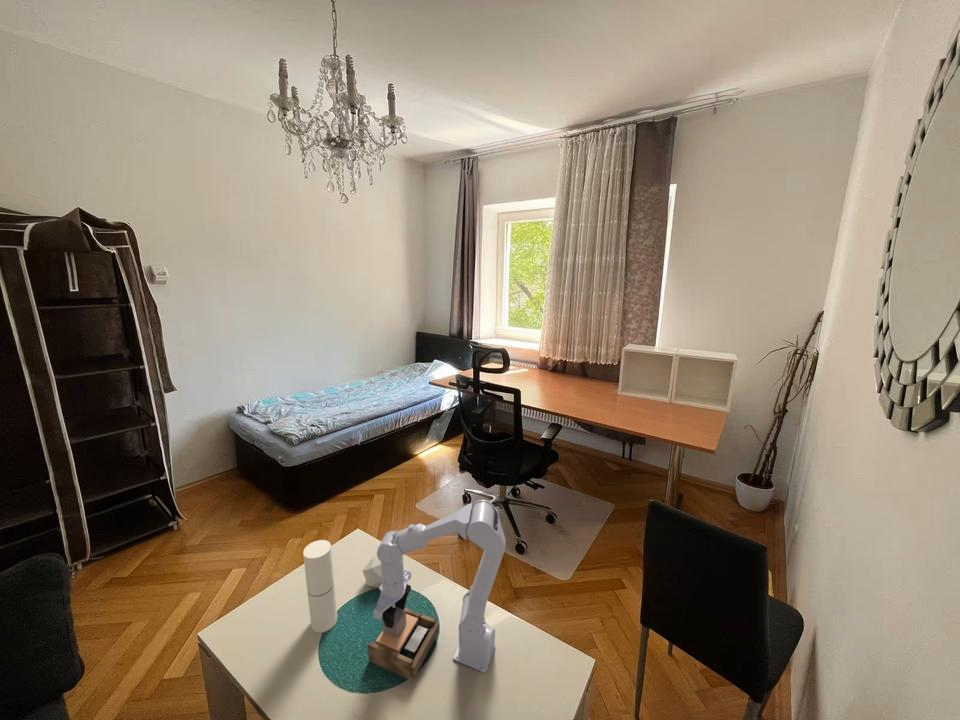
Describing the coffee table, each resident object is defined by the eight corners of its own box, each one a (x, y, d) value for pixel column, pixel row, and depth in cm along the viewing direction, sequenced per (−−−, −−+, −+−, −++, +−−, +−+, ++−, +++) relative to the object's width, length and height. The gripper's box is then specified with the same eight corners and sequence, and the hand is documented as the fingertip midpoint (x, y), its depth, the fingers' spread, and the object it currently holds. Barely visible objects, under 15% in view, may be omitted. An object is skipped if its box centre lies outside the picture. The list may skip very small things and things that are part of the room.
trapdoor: (430, 630, 105) (430, 623, 104) (411, 664, 96) (411, 656, 95) (397, 617, 109) (397, 610, 108) (376, 648, 100) (375, 640, 99)
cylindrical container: (305, 629, 108) (297, 555, 102) (321, 608, 114) (314, 538, 109) (327, 635, 106) (320, 560, 100) (342, 613, 113) (336, 542, 107)
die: (368, 599, 119) (386, 577, 117) (352, 576, 122) (370, 554, 121) (385, 589, 126) (402, 568, 125) (369, 567, 130) (386, 546, 129)
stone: (406, 623, 104) (405, 610, 103) (397, 638, 100) (396, 624, 99) (392, 618, 105) (391, 605, 104) (383, 632, 101) (382, 618, 100)
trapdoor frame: (439, 635, 106) (438, 619, 105) (414, 682, 94) (413, 664, 93) (397, 619, 111) (396, 603, 110) (368, 661, 99) (367, 644, 98)
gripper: (395, 553, 107) (397, 592, 110) (362, 592, 94) (365, 636, 97) (417, 560, 104) (418, 600, 107) (386, 601, 91) (388, 646, 94)
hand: (394, 618), depth 102 cm, fingers closed on stone, 4 cm apart
